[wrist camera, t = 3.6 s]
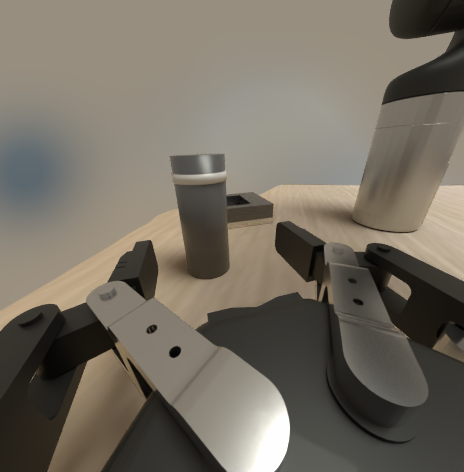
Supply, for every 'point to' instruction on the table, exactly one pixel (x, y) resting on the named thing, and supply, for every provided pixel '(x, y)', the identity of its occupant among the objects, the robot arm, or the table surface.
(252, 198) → the dark rectangular frame
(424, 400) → the robot arm
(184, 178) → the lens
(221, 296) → the table surface
